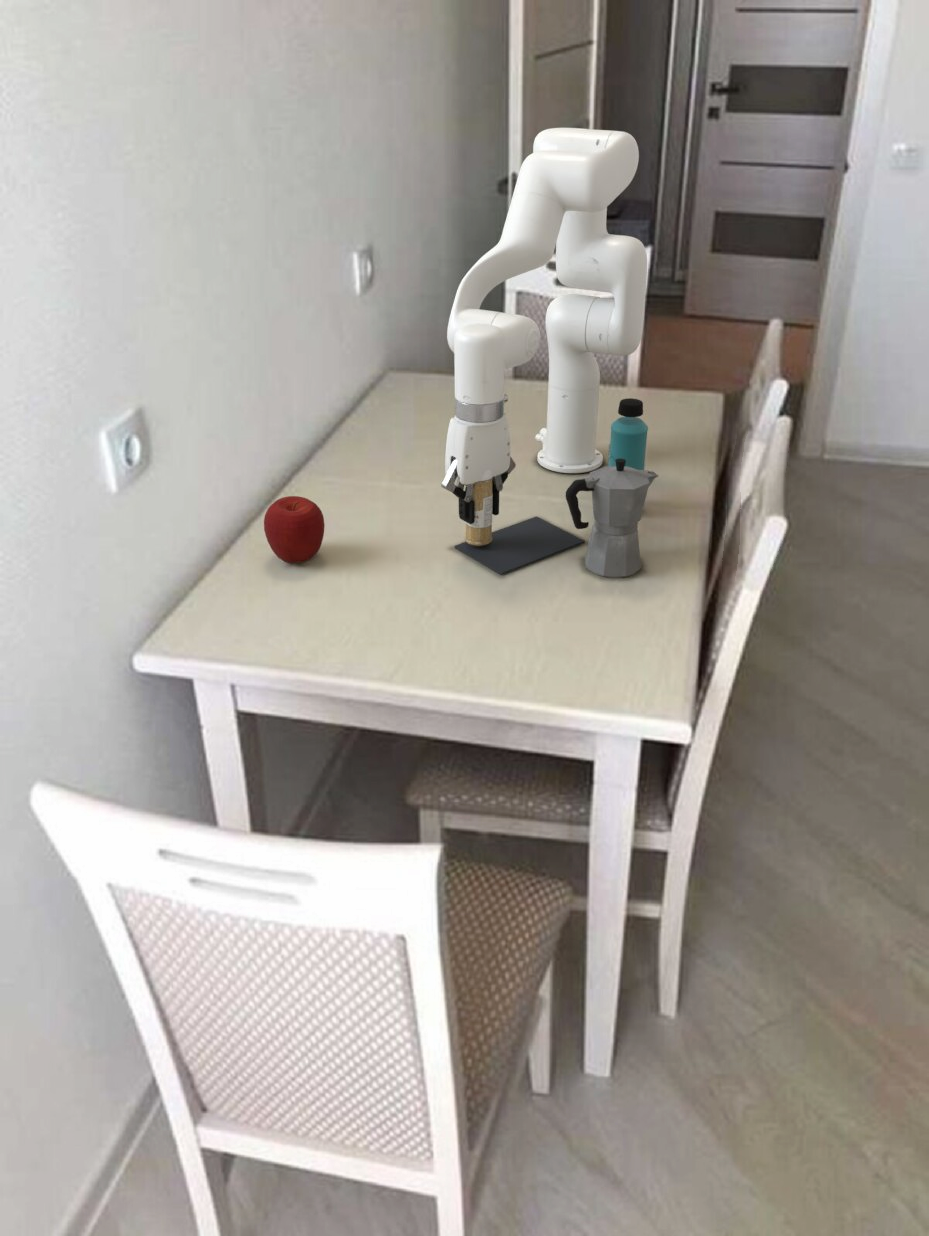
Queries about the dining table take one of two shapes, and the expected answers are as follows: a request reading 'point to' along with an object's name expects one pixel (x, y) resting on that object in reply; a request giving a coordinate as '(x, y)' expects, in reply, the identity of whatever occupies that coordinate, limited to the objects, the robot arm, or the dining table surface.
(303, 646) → the dining table surface
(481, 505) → the sprinkles bottle
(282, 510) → the apple
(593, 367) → the robot arm
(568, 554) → the dining table surface
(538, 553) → the mat
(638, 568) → the coffeepot
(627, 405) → the beverage bottle
